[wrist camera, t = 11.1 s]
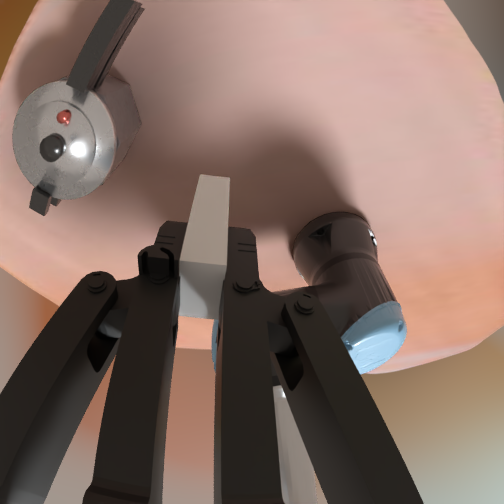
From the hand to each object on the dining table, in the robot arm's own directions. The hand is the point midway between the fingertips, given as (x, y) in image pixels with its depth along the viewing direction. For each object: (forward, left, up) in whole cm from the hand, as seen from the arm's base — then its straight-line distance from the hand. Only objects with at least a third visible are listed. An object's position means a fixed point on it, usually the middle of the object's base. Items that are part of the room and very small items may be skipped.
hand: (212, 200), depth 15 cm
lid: (0, +18, -19) cm, 26 cm away
